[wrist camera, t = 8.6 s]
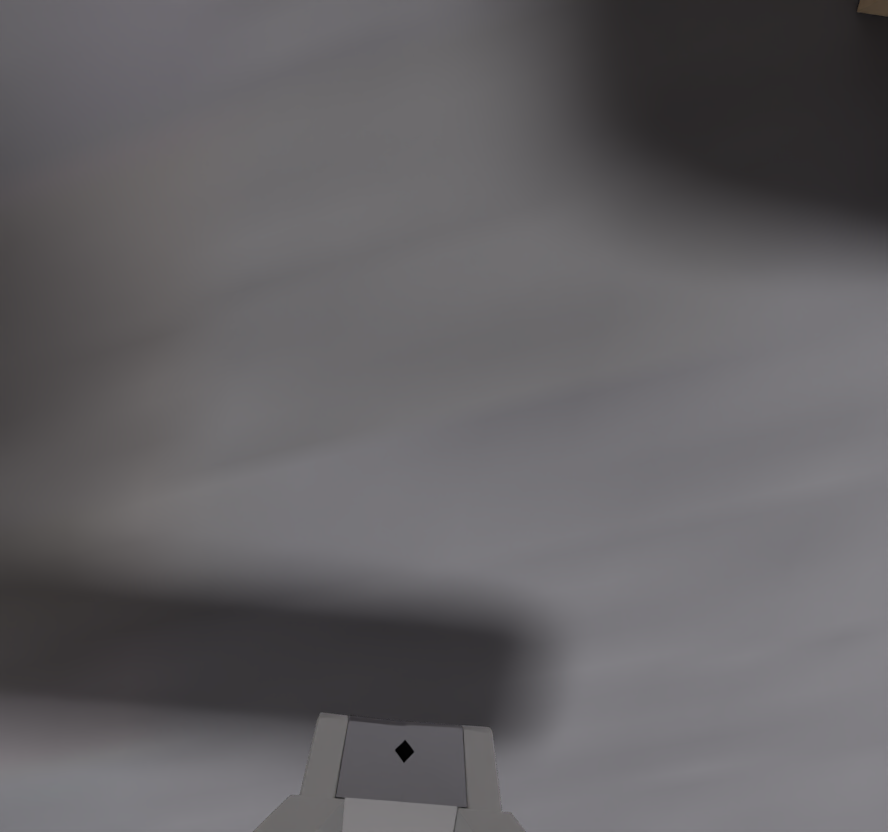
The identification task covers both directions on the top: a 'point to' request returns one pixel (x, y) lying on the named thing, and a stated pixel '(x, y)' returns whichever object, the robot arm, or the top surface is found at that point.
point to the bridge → (873, 7)
